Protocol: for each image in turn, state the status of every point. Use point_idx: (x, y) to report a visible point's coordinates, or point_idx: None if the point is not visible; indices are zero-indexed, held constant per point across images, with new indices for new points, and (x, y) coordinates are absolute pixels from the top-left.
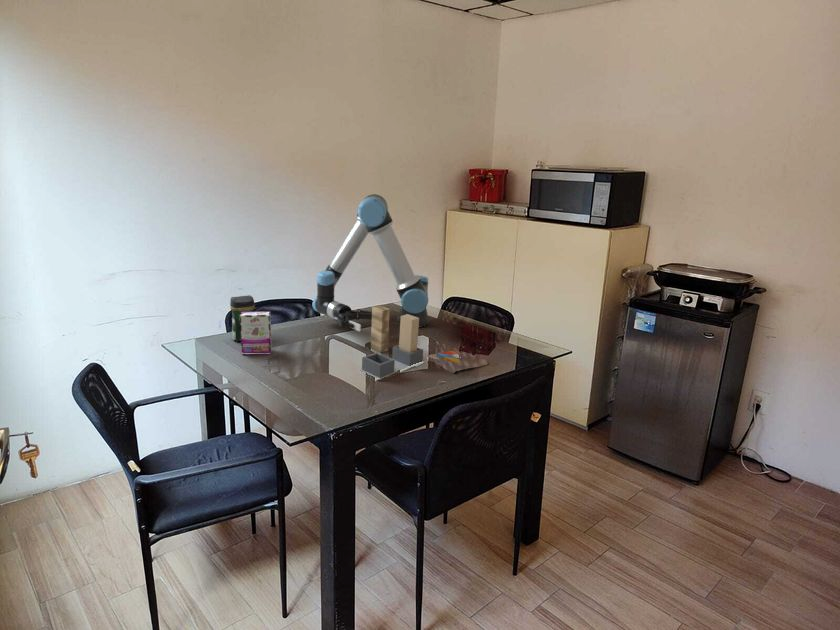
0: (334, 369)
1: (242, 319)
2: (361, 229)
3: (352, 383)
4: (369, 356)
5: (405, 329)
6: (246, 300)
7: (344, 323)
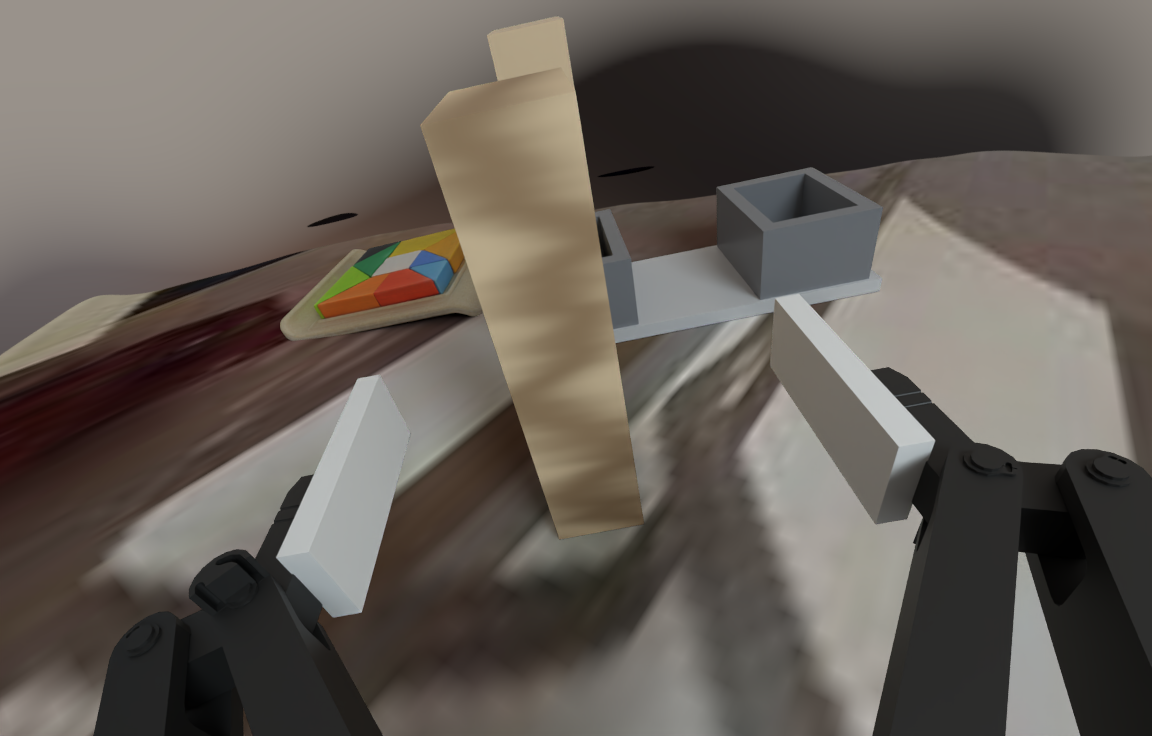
0: (1062, 339)
1: None
2: None
3: (948, 238)
4: (831, 211)
5: None
6: None
7: (1040, 470)
